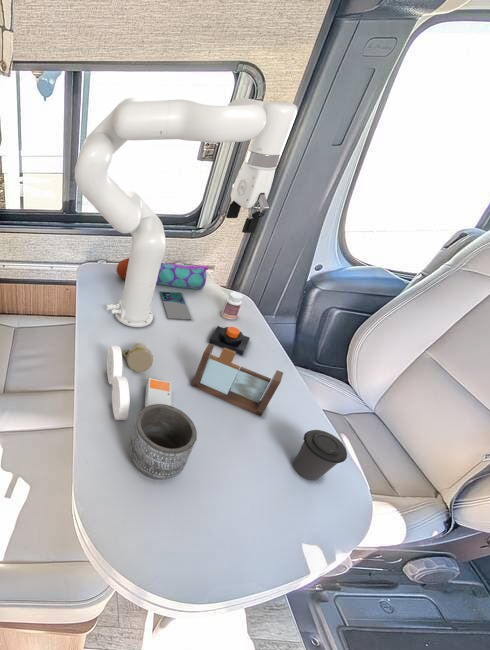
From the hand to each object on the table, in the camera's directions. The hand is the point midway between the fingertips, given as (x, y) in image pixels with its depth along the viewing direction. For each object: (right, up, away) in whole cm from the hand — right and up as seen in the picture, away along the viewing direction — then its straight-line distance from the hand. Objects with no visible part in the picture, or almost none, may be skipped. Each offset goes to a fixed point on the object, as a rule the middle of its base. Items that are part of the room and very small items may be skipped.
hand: (239, 224), depth 107 cm
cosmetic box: (-23, -43, -4) cm, 49 cm away
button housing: (+4, -33, +15) cm, 36 cm away
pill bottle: (+9, -24, +26) cm, 37 cm away
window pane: (-9, -44, -3) cm, 45 cm away
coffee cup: (+5, -60, -20) cm, 64 cm away
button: (+4, -30, +13) cm, 33 cm away
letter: (-35, -46, -4) cm, 58 cm away
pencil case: (-5, -12, +41) cm, 43 cm away
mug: (-27, -38, +6) cm, 47 cm away
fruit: (-22, -9, +44) cm, 50 cm away
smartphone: (-8, -21, +30) cm, 37 cm away
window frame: (-5, -46, -3) cm, 47 cm away
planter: (-29, -59, -20) cm, 68 cm away
